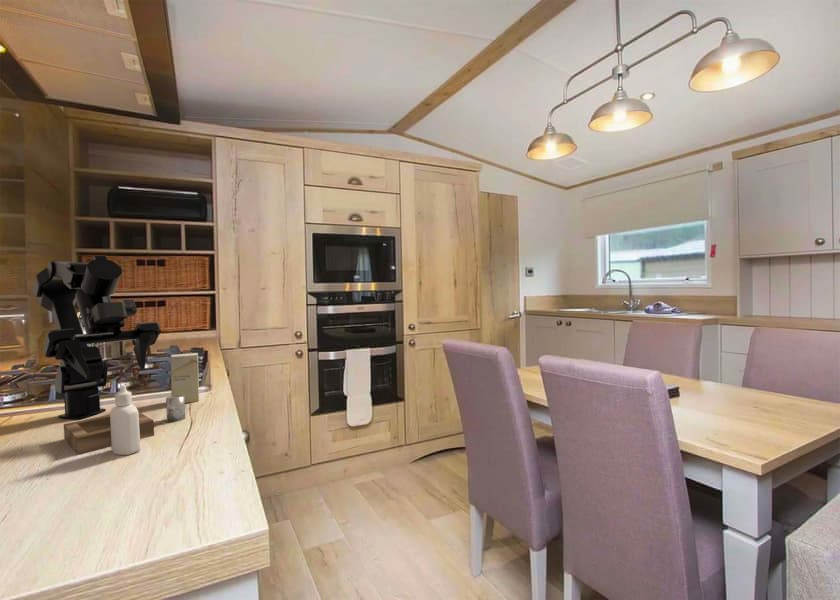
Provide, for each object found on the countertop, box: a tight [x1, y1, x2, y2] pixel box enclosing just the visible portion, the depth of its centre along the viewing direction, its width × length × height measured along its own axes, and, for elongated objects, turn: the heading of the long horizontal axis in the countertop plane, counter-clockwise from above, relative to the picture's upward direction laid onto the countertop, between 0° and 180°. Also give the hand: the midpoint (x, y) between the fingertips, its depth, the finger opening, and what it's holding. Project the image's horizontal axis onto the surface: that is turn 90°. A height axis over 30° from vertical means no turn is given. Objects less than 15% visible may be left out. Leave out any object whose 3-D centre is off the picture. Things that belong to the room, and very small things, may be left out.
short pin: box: [165, 395, 186, 423], centre depth 93 cm, size 4×4×5 cm
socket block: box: [63, 411, 155, 455], centre depth 83 cm, size 12×12×3 cm
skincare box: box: [170, 352, 200, 404], centre depth 108 cm, size 6×4×12 cm
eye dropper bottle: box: [109, 384, 141, 456], centre depth 76 cm, size 4×6×12 cm
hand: (116, 373), depth 83 cm, fingers open, 9 cm apart
